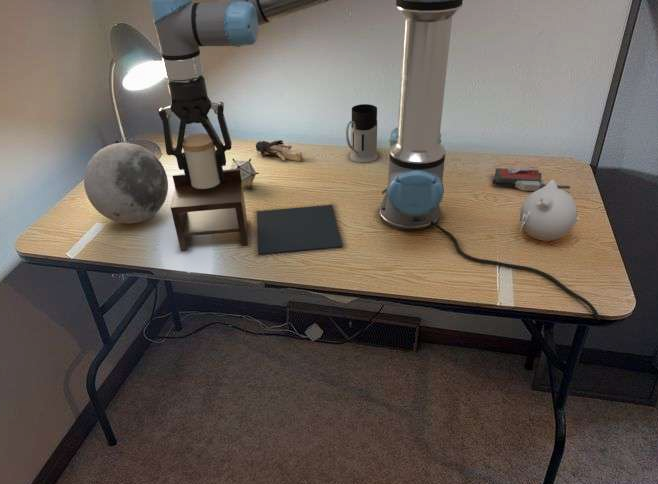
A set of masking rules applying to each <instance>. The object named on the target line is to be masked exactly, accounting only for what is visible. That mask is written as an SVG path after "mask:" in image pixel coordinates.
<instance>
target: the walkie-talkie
mask: <svg viewBox="0 0 658 484" xmlns="http://www.w3.org/2000/svg"><path fill="white" fill-rule="evenodd" d="M493 177H494V179H493V180H491V181H492V182H491V183H492V184H493V185H495V186H496V187H499V188H515V189H518V190H521V191H527V192H529V191H530V192H535V191H537V190H539V189H541V188H543V187H545V186H546V185H547V184H544V183H541V182H542V181H543V178H542V173H541V172H539V170H538V169H536V168H535V167H534V166H518V167H516V168H512V167H507V168H502V167H497V168H495V171H494V175H493ZM557 187H558V189H561V190H564V189H565V190H569V189H571V186H570V185H558V184H557Z"/></svg>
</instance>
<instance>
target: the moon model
mask: <svg viewBox="0 0 658 484" xmlns="http://www.w3.org/2000/svg"><path fill="white" fill-rule="evenodd" d="M83 186H84V191H85V194H86V197H87V198H88V200H89V203H90V204H91V205H92V207H93V208H94V209H95V210H96V211H97V212H98V213H99V214H100V215H102V216H103V217H105V218H106V219H109V220H110V221H112V222H115V223H121V224H137V223H141V222H145V221H146V220H148V219H150V218H152V217H153V216H155V215H156V214H157V213H158V212H159V211H160V210H161V208H162V207H163V206H164V204H165V202H166V199H167V196H168V191H169V180H168V175H167V172H166V170H165V168H164V165H163V164H162V162H161V161H160V160H159V158H158V157H157V156H156V155H155V154H154V153H152V152H151V151H150V150H148V149H147V148H145V147H143V146H141V145H138V144H136V143H135V144H134V143H131V142H117V143H112V144H108V145H107V146H104V147H102V148H100V149H99V150H98V151H97V152H96V153H94V155H92V156H91V158H90V159H89V161H88V163H87V165H86V167H85V170H84V175H83Z"/></svg>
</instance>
